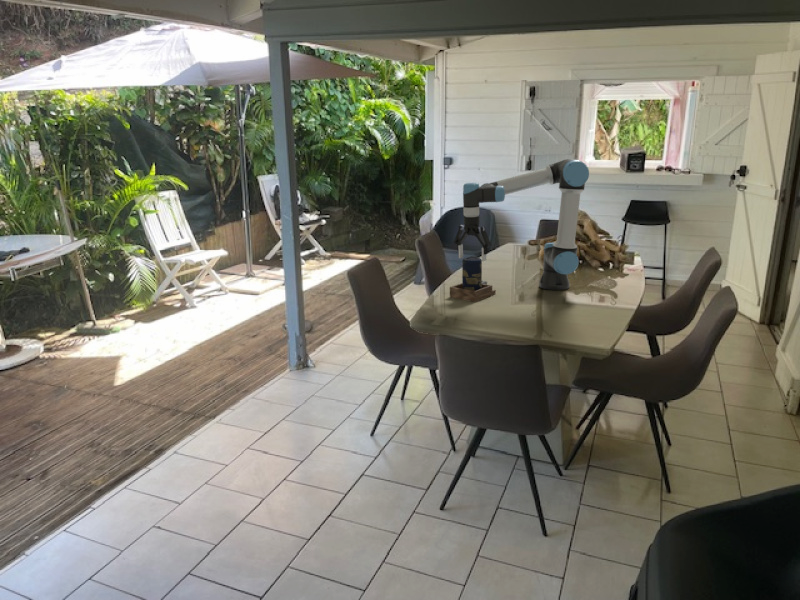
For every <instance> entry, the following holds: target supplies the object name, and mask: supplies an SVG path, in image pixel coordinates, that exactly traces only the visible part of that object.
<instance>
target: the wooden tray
mask: <svg viewBox="0 0 800 600" xmlns="http://www.w3.org/2000/svg"><path fill="white" fill-rule="evenodd" d="M462 288H463V283H457V284H455V285H452V286H450V287H449V298H453V299H459V300H464V301H469V302H474V303H476V302H478V301H481V300H483V299H486V298H489V297H492V296H494V295H496V289H493V285H491V284H487V285H486V284H482V289H479V290H476V291H472V290H466V289H462Z"/></svg>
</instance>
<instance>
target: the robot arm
mask: <svg viewBox="0 0 800 600" xmlns="http://www.w3.org/2000/svg"><path fill="white" fill-rule="evenodd" d="M589 177H590V170H589V167H588V166H587V164H586V163H585V162H583V161H581V160H579V159H570V158H567V159H566V158H565V159H563V160H559V161H558V162H554V163H552V164H548V165H546V167H545V168H541V169H538V170H537V169H536V170H534V171H530V172H526V173H522V174H518V175H515V176H511V177H508V178H504V179H501V180H496V181H493V182H489V183H488V182H487V183H483V184H481V185H480V184H479V183H478V182H466V183H464V184H463V188H462V191H463V192H462V194H463V195H462V199H463V200H462V201H463V202H462V205H463V209H462V210H463V224H460V225H459V226H458V230H457V233H456V235H455V238H454V240H453V244H455V245H457V252H458V259H464V244H463V242H464V241H465V240H466V239H467V237H468V236H471V237H472V236H474V237H475V238H476V239H477V240H478V242H479V244H480V245H481V246H482V247H481V260H482V262H486V261H487V255H488V250H489V249H488V248H489V247H491V246H492V243H491V241H490V238H489V236H488V233H487V231H486V226H480V223H481V222H480V218H481V217H480V216H479V215H480V204H482V203H484V204H485V203H501V202H504V201H505V198H506V195H509V194H514V193H517V192H520V191H521V192H522V191H524V190H525V191H526V190H529V189H532V188H536V187H539V186H544V185H547V184H550V185H555V184H559V185H558V189H559V191H560V192H561V195H560V196H561V197H560V205H559V206H560V207H559V215H558V224H557V235H556V242H546V243H545V244H544V248H543V269H542V271H543V272H542V274H541V277H540V279H539V287H540V288H541V289H544V290H551V291H563V290H568V289H570V280H569V277H568V275H569V274H572V273H574V272H575V271H576V270H577V268H578V267H579V263H580V261H579V257H578V255H577V254H578V245H577V244H576V234H577V226H578V217H579V208H580V200H581V193H582V192H584V191H585V186H586V182H587V181H588V179H589ZM463 231H464V232H463Z"/></svg>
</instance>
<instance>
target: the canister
mask: <svg viewBox="0 0 800 600" xmlns="http://www.w3.org/2000/svg"><path fill="white" fill-rule="evenodd" d="M461 262H462V263H461V264H462V265H461V266H462V270H461V271H462V273H461V274H462V277H461V279H462V281H461V282H462V283H463V288H462V289H466V290H472V291H476V290H479V289H482V281H483V280H482V279H483V277H482V275H483V269H482V268H483V266H482V265H483V261H482V258H480V257H477V256H474V255H473V256H468V257H463V258H462V261H461Z"/></svg>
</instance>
